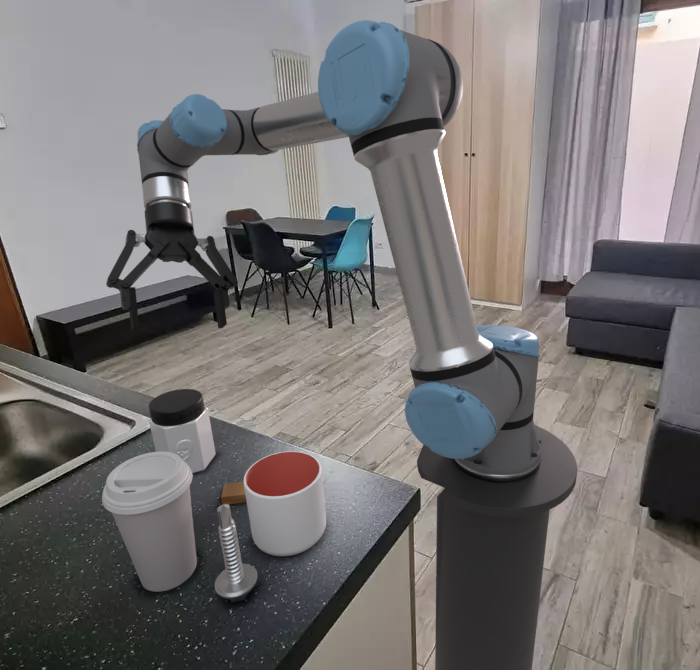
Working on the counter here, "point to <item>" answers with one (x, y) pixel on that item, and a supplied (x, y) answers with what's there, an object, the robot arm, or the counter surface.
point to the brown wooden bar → (233, 493)
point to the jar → (182, 427)
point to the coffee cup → (154, 517)
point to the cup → (285, 502)
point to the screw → (232, 562)
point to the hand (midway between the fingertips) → (180, 327)
